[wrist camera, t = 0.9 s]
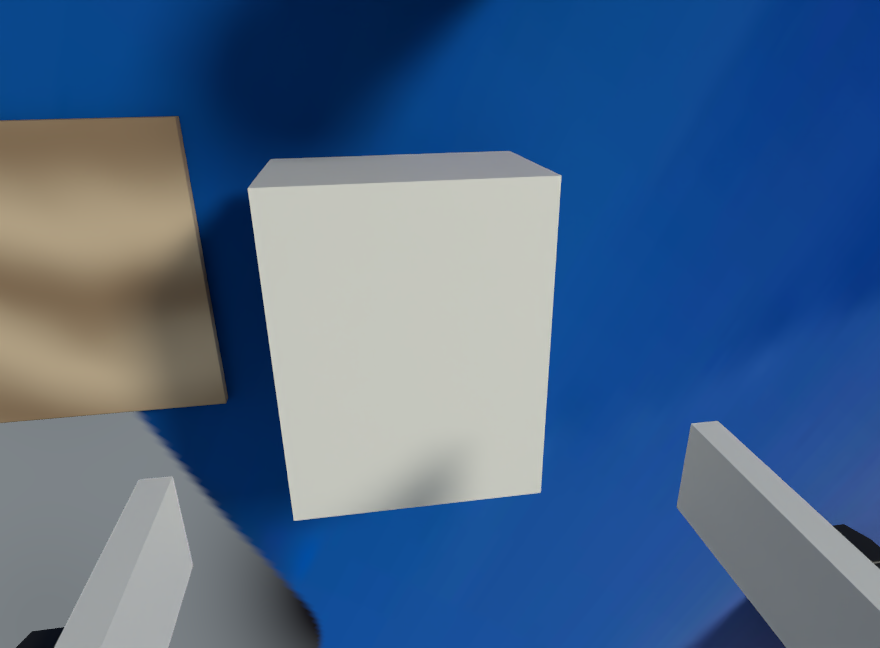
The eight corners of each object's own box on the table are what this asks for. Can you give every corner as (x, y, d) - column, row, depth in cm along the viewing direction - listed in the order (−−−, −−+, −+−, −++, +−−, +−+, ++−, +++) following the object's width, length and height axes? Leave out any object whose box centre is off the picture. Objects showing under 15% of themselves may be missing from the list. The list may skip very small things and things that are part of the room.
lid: (270, 159, 24) (247, 188, 18) (509, 151, 26) (561, 175, 20) (303, 428, 29) (294, 520, 23) (501, 410, 31) (540, 492, 25)
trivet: (-187, 125, 24) (-199, 126, 23) (178, 116, 26) (175, 117, 25) (-66, 422, 29) (-74, 429, 29) (228, 397, 31) (226, 403, 31)
